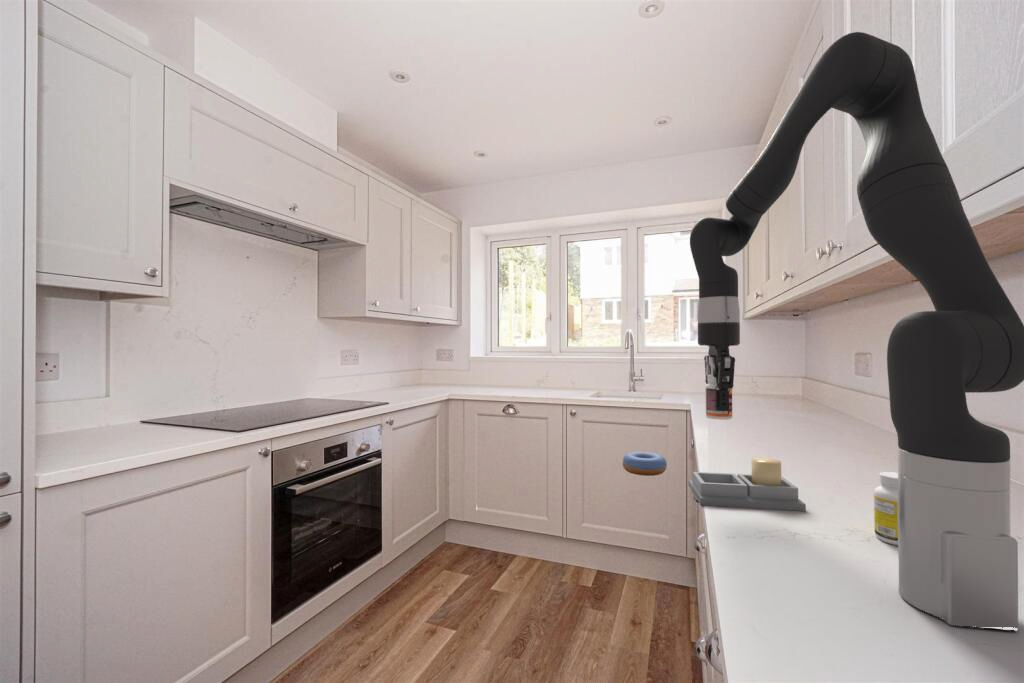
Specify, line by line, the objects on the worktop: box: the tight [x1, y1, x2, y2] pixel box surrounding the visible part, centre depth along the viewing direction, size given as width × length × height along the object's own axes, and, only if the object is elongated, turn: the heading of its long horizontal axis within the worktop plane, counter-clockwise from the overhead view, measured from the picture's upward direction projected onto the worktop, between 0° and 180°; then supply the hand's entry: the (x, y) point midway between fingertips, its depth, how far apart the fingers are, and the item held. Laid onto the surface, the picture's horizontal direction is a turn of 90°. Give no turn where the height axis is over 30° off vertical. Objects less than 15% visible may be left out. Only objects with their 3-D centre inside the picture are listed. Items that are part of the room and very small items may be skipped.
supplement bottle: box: [873, 471, 898, 546], centre depth 71 cm, size 5×5×10 cm
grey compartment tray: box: [688, 457, 807, 512], centre depth 90 cm, size 12×18×7 cm
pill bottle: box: [705, 375, 733, 421], centre depth 91 cm, size 5×5×8 cm
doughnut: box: [622, 451, 668, 477], centre depth 109 cm, size 10×10×5 cm
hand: (718, 408), depth 91 cm, fingers closed on pill bottle, 4 cm apart
